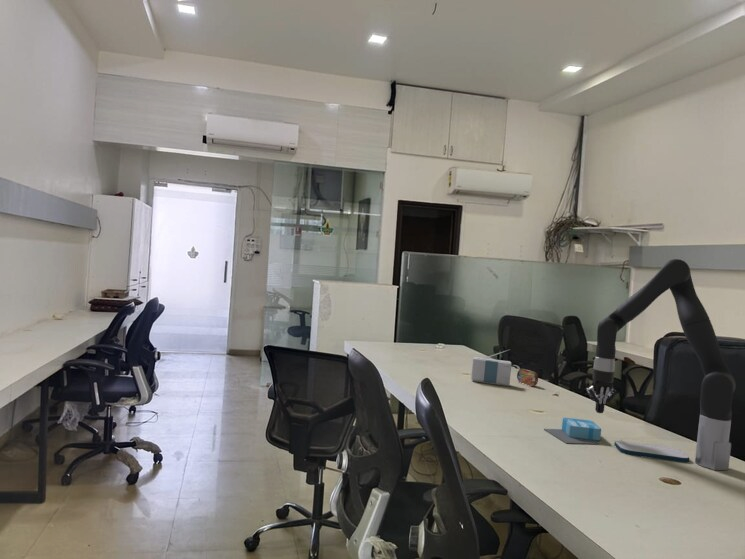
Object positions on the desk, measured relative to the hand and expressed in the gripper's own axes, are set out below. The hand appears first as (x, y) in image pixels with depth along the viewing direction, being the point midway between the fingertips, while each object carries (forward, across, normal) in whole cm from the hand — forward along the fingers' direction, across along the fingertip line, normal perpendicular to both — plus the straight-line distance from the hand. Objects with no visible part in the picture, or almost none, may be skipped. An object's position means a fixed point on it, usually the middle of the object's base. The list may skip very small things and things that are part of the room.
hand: (599, 412), depth 204 cm
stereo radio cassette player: (+10, -5, +90) cm, 91 cm away
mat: (+10, -11, 0) cm, 15 cm away
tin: (+10, +18, +91) cm, 93 cm away
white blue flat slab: (+11, +11, -16) cm, 22 cm away
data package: (+7, 0, +1) cm, 7 cm away
